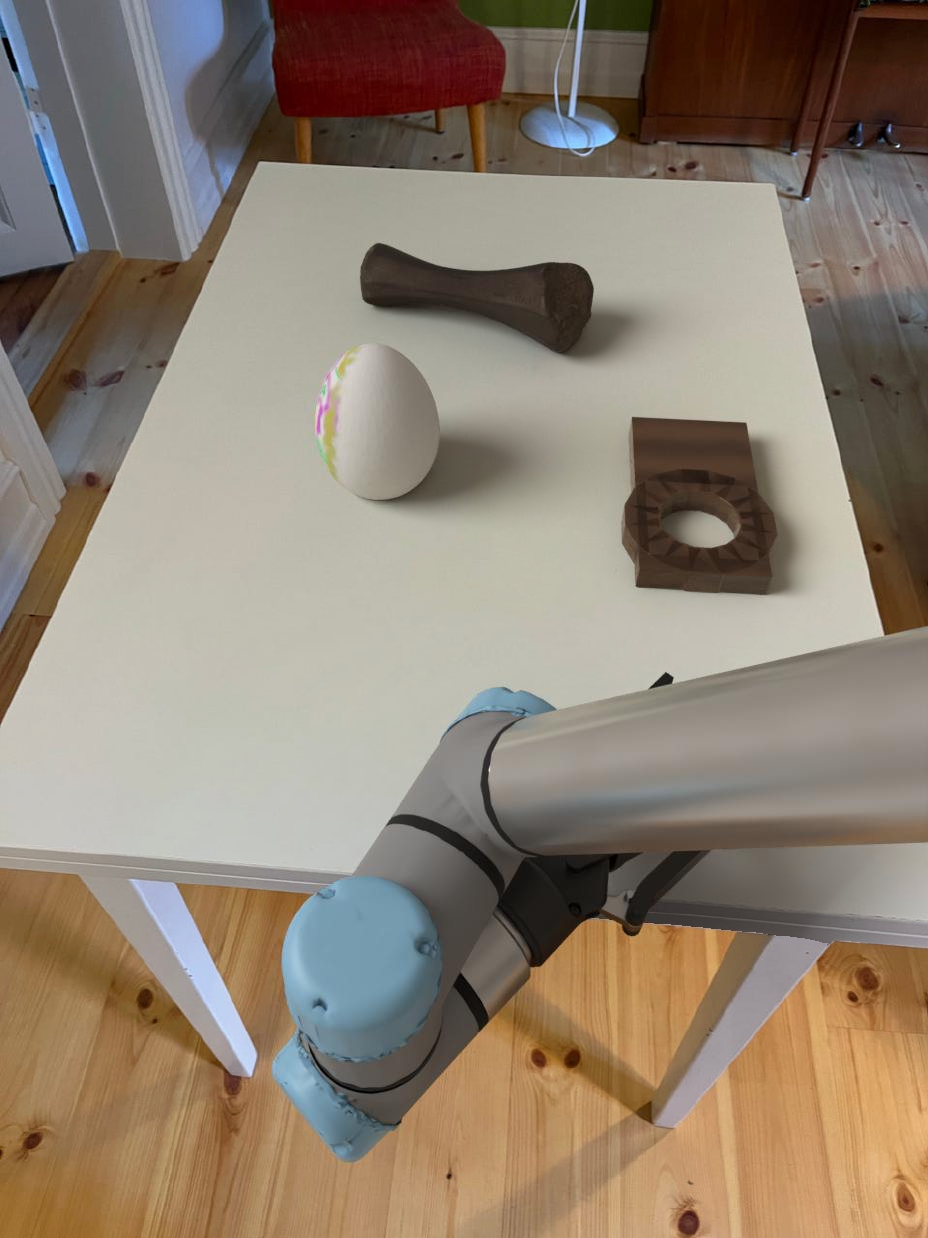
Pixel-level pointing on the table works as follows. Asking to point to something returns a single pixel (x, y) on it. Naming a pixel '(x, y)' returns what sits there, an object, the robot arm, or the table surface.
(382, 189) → the table surface
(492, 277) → the dark brown bone
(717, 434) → the plate
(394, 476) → the decorative egg
